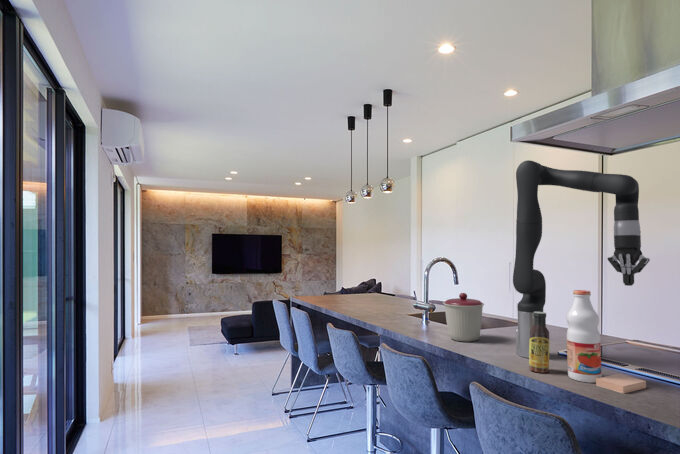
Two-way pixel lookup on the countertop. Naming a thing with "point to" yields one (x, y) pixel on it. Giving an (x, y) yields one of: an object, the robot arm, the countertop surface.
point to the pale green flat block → (621, 383)
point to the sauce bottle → (539, 344)
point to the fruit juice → (583, 339)
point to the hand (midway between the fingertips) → (628, 285)
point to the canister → (463, 318)
